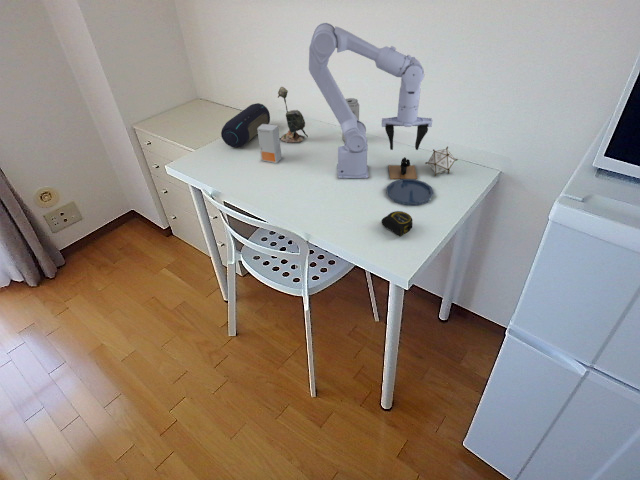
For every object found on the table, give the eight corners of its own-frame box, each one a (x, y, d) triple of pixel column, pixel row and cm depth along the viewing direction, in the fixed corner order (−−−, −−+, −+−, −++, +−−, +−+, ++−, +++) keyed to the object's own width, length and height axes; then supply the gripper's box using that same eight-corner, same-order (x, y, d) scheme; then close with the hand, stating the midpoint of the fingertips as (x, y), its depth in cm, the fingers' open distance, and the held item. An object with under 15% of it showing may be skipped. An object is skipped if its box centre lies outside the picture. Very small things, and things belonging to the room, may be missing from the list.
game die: (443, 185, 128) (458, 171, 119) (418, 175, 128) (432, 160, 118) (449, 162, 131) (464, 147, 122) (425, 152, 131) (439, 136, 121)
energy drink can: (361, 140, 149) (362, 99, 139) (352, 145, 145) (352, 104, 136) (348, 136, 152) (349, 96, 142) (339, 141, 148) (338, 101, 139)
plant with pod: (298, 147, 146) (294, 92, 133) (276, 140, 152) (270, 86, 139) (313, 140, 150) (310, 85, 138) (291, 132, 156) (286, 80, 144)
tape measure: (379, 227, 106) (380, 216, 103) (399, 218, 109) (400, 207, 106) (397, 240, 101) (398, 228, 99) (417, 230, 104) (418, 218, 102)
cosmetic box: (261, 161, 138) (256, 128, 131) (267, 155, 141) (262, 123, 134) (276, 163, 136) (272, 130, 129) (282, 158, 140) (278, 125, 132)
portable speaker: (244, 152, 144) (240, 126, 138) (220, 149, 147) (215, 123, 141) (275, 126, 162) (272, 101, 156) (253, 123, 165) (249, 99, 159)
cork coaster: (390, 179, 125) (390, 178, 125) (388, 166, 132) (388, 165, 132) (417, 179, 125) (417, 178, 124) (414, 166, 131) (414, 165, 131)
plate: (388, 205, 114) (388, 202, 113) (385, 181, 124) (386, 178, 123) (435, 205, 113) (436, 202, 112) (429, 182, 123) (429, 179, 122)
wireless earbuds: (400, 167, 130) (401, 153, 127) (407, 167, 130) (409, 153, 127) (401, 178, 125) (403, 163, 121) (409, 178, 124) (411, 163, 121)
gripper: (383, 109, 113) (380, 154, 121) (436, 109, 111) (429, 154, 120) (382, 101, 118) (379, 144, 126) (432, 100, 117) (426, 144, 125)
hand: (403, 148), depth 123 cm, fingers open, 7 cm apart
